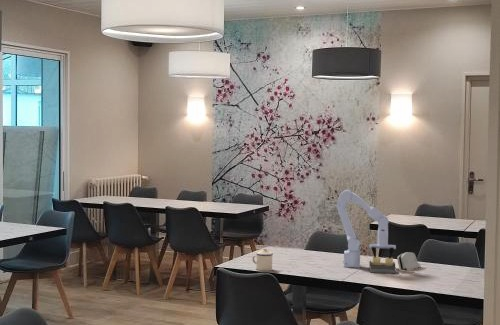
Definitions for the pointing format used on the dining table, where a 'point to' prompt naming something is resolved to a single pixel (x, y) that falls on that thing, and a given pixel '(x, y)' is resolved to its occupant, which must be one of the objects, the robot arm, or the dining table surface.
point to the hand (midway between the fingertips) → (382, 261)
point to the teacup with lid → (263, 260)
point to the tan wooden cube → (388, 261)
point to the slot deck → (380, 264)
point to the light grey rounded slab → (407, 261)
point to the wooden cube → (376, 260)
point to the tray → (382, 269)
